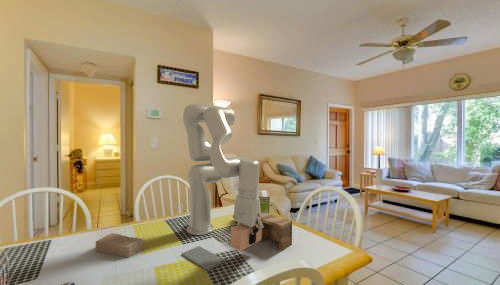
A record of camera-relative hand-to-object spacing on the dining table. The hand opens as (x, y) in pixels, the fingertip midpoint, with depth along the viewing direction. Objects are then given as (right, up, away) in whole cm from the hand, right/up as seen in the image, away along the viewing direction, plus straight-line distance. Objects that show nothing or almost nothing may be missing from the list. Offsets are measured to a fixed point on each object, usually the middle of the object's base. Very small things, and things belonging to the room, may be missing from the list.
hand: (246, 240), depth 90 cm
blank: (0, -1, 0) cm, 1 cm away
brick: (-50, -6, +5) cm, 51 cm away
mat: (-16, -6, -1) cm, 17 cm away
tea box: (+6, -5, +39) cm, 40 cm away
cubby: (+8, -6, +14) cm, 17 cm away
